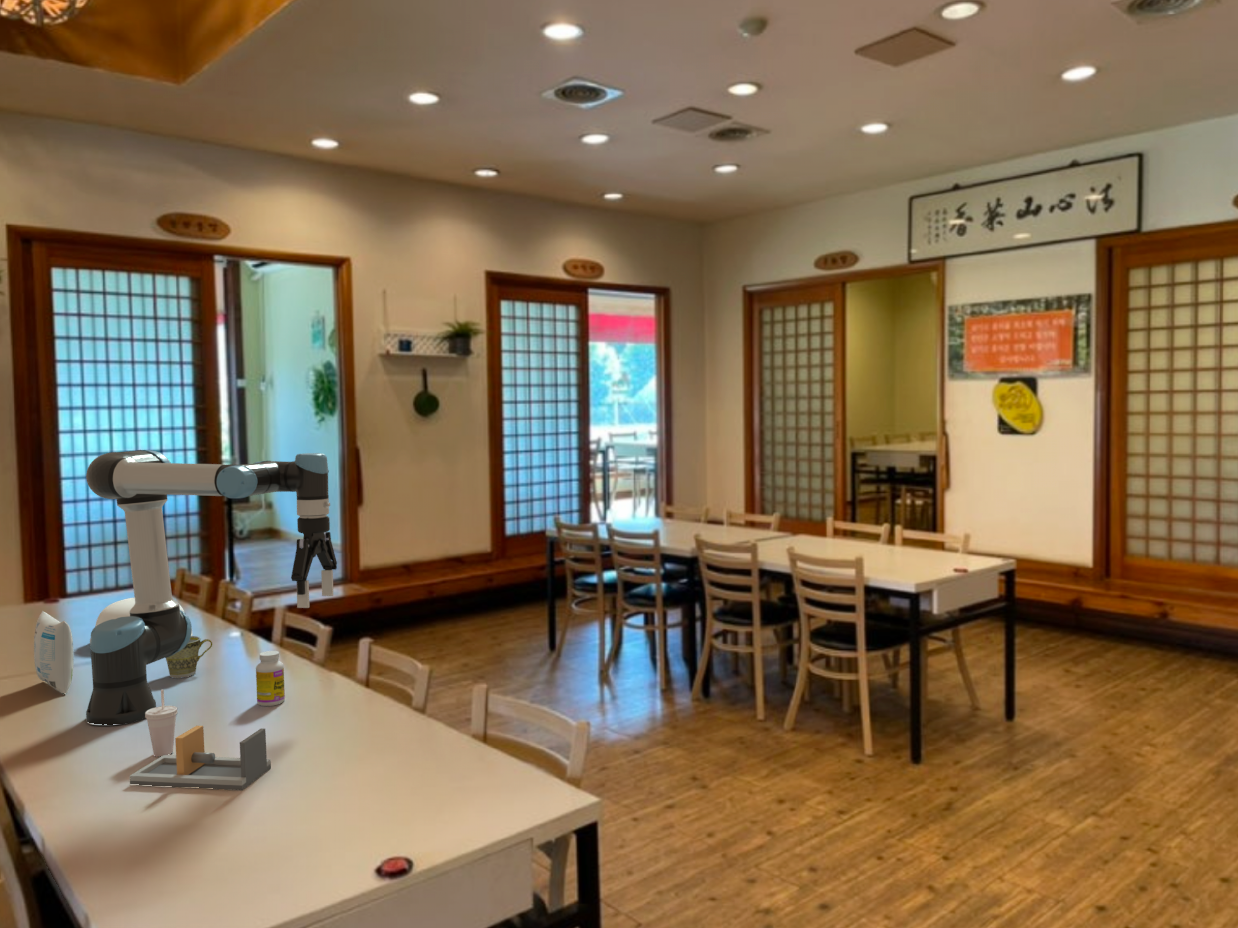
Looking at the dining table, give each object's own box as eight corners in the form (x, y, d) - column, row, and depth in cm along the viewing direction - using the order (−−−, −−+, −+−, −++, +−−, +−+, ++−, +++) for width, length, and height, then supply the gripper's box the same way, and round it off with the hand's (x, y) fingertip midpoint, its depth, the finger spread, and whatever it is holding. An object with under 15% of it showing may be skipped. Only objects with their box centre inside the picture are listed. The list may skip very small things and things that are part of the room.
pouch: (47, 699, 241) (42, 624, 239) (31, 684, 254) (26, 612, 253) (81, 692, 246) (77, 618, 245) (63, 678, 260) (59, 608, 259)
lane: (130, 785, 184) (127, 741, 183) (164, 764, 195) (162, 722, 194) (242, 790, 181) (240, 745, 180) (270, 768, 191) (269, 726, 191)
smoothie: (186, 750, 203) (183, 687, 202) (163, 760, 197) (160, 696, 196) (163, 747, 205) (160, 685, 204) (140, 757, 199) (136, 694, 198)
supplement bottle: (275, 707, 231) (273, 657, 230) (251, 706, 232) (249, 656, 231) (290, 699, 237) (288, 650, 236) (267, 698, 238) (264, 649, 238)
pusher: (177, 777, 184) (175, 738, 184) (198, 763, 192) (196, 725, 191) (202, 778, 184) (200, 739, 183) (223, 764, 191) (221, 726, 190)
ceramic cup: (163, 682, 254) (161, 646, 253) (162, 673, 263) (161, 638, 262) (214, 675, 260) (213, 640, 259) (212, 666, 269) (210, 632, 268)
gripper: (304, 522, 214) (307, 613, 215) (348, 510, 238) (350, 591, 240) (274, 522, 214) (277, 612, 216) (320, 510, 239) (323, 590, 241)
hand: (315, 601), depth 228 cm, fingers open, 13 cm apart
